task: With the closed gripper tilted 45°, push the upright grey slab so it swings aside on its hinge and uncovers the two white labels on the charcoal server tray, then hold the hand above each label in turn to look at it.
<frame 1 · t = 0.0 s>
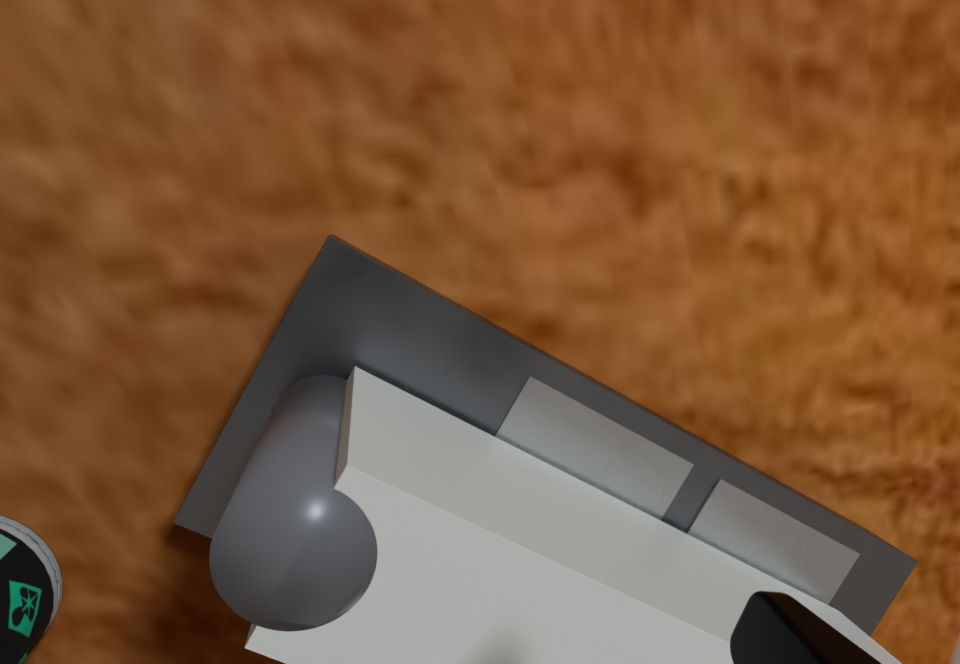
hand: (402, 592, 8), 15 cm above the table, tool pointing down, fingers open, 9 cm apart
upright grey slab: (618, 613, 18), point 7 cm above the table, hinge at 0.0°
server tray: (565, 512, 25), on the table
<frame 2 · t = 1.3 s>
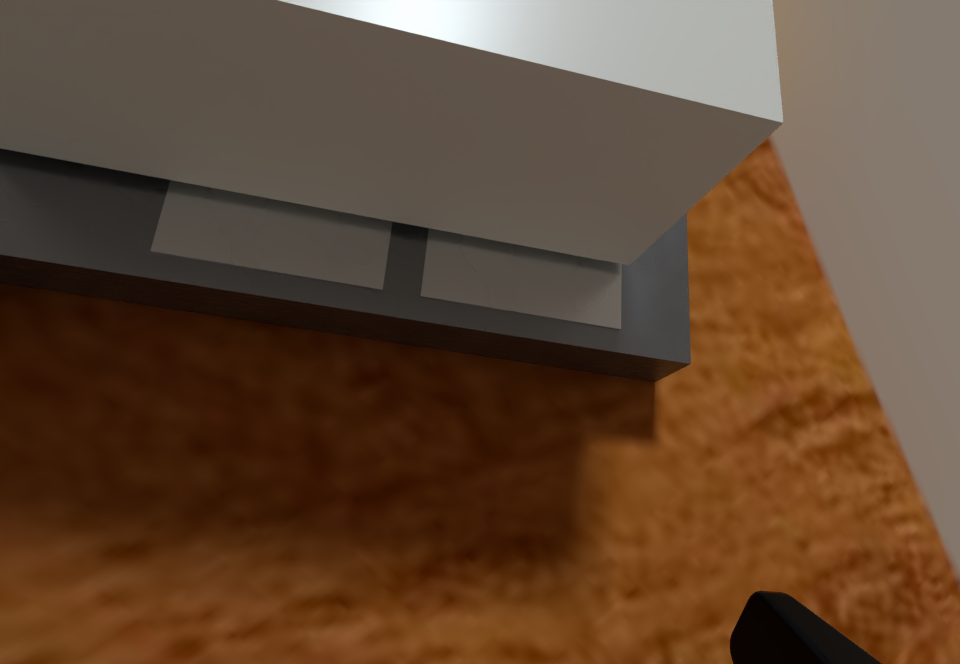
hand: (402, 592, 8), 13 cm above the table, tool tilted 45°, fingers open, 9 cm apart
upright grey slab: (318, 65, 17), point 7 cm above the table, hinge at 0.0°
server tray: (339, 202, 24), on the table
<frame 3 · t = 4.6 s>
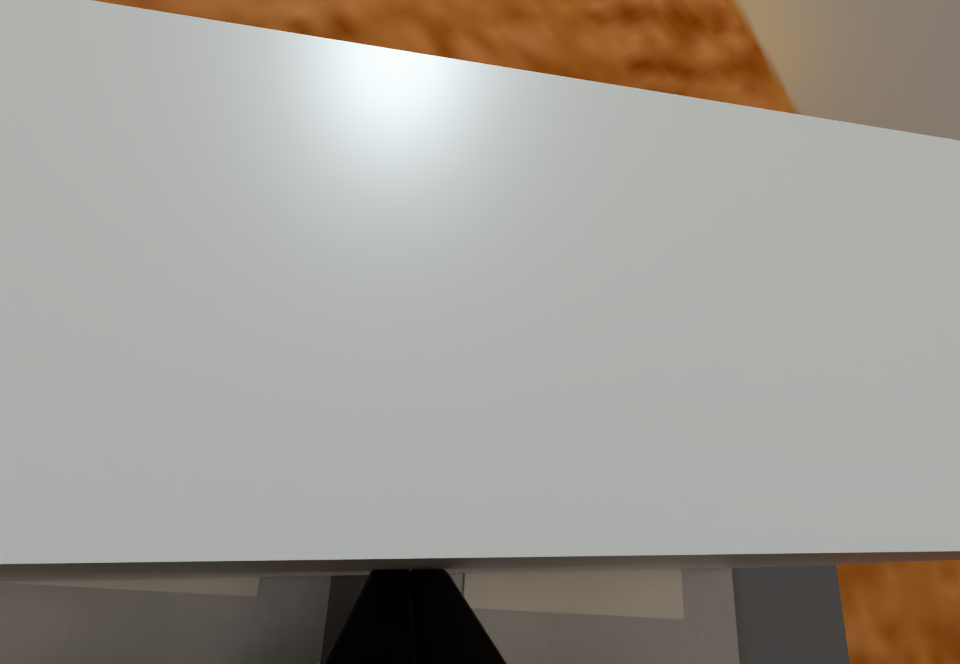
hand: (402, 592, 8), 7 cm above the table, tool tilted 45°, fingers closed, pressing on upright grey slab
upright grey slab: (133, 395, 8), point 7 cm above the table, hinge at 4.4°, touching gripper
server tray: (245, 517, 14), on the table
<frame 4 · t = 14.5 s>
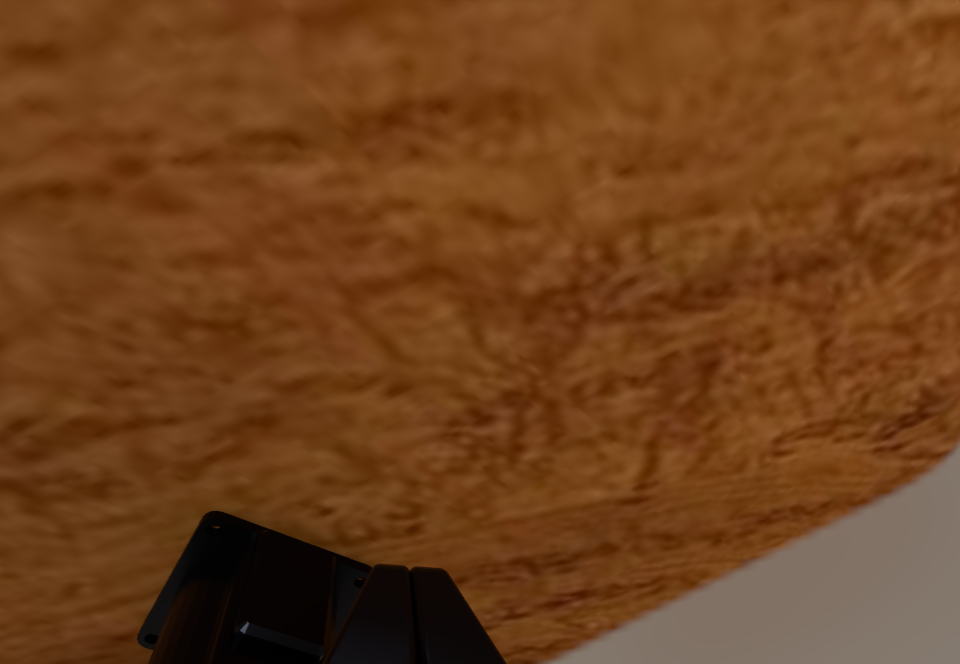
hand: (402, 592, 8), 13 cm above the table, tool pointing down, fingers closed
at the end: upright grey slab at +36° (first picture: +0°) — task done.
